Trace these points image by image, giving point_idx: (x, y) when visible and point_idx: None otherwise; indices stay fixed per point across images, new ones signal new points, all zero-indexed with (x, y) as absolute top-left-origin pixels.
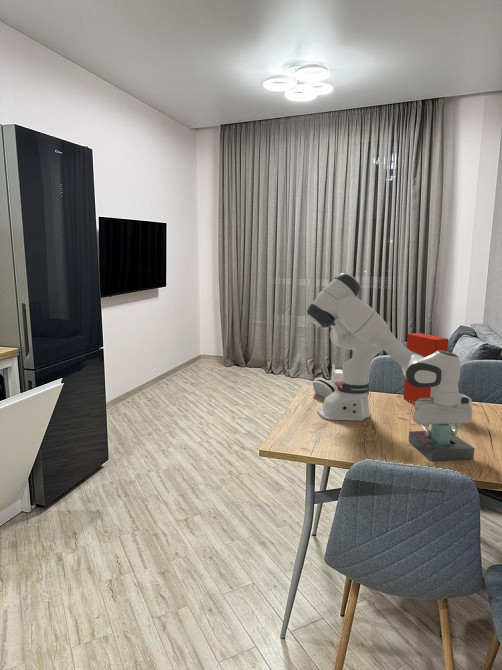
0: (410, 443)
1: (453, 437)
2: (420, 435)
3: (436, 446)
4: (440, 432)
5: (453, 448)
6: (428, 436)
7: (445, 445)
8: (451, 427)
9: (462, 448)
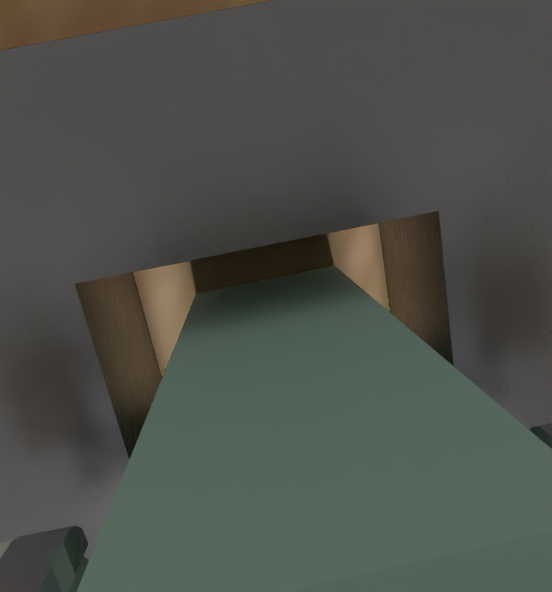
0: None
1: None
2: None
3: (492, 128)
4: (463, 384)
5: (206, 48)
6: None
7: (311, 190)
8: (82, 577)
9: (20, 62)
